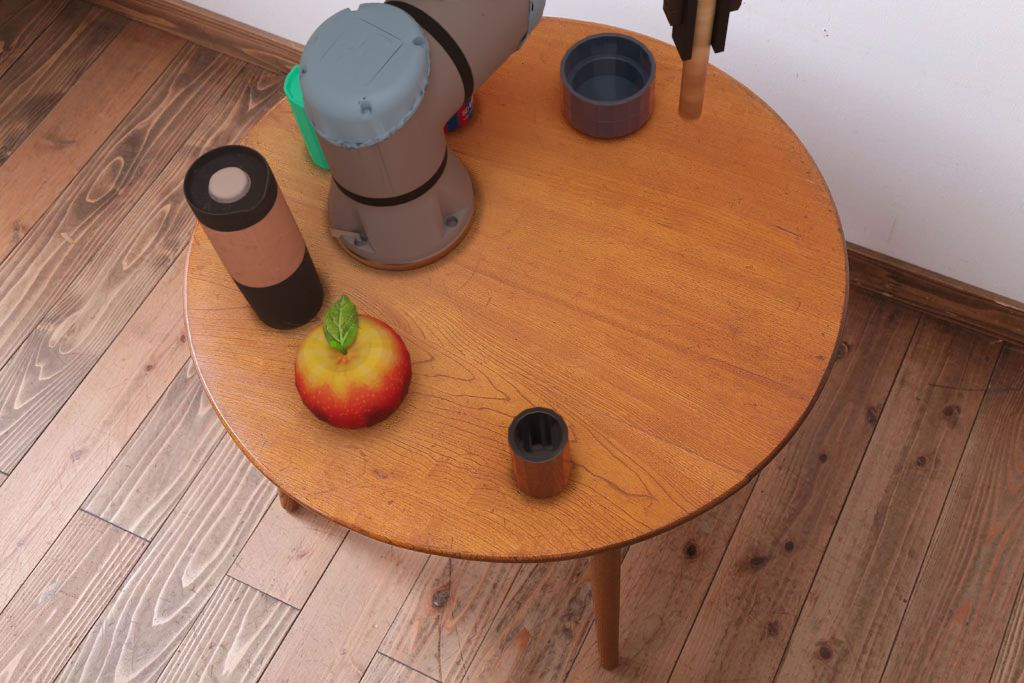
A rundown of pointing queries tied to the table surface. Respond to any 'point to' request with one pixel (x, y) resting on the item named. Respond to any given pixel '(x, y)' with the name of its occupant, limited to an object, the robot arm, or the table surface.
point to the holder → (540, 452)
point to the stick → (697, 64)
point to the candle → (303, 117)
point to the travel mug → (254, 234)
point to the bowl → (607, 84)
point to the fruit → (352, 368)
